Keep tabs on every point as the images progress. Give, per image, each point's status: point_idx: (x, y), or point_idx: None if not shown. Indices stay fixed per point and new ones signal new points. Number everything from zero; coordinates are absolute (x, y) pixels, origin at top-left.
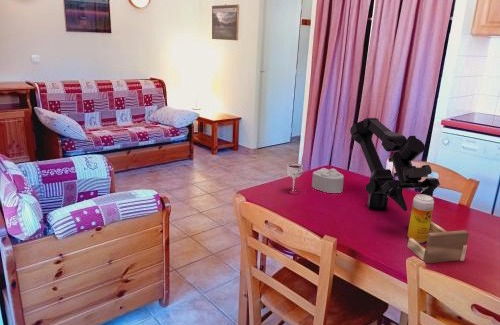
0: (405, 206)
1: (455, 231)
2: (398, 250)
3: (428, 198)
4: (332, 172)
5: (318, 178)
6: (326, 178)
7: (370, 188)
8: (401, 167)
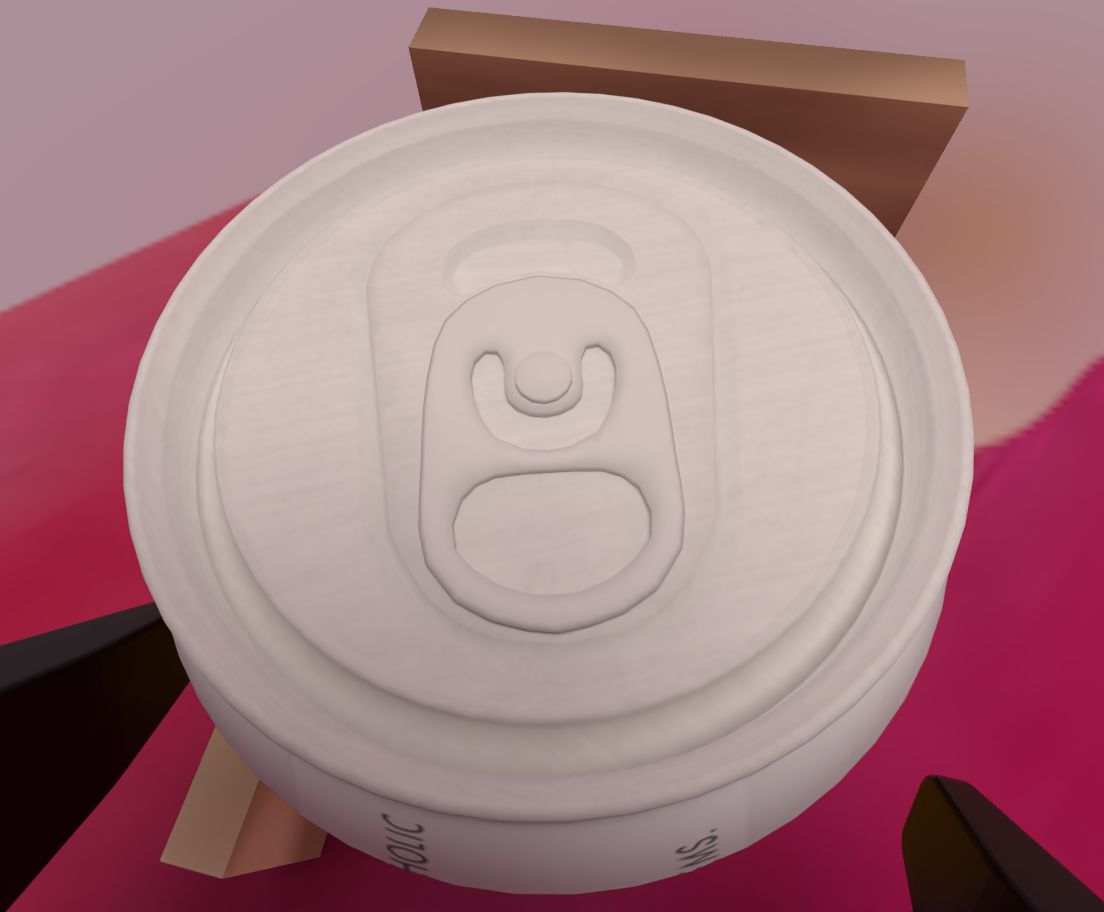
0: (1017, 852)
1: (555, 57)
2: (965, 571)
3: (427, 270)
4: None
5: None
6: None
7: None
8: None
